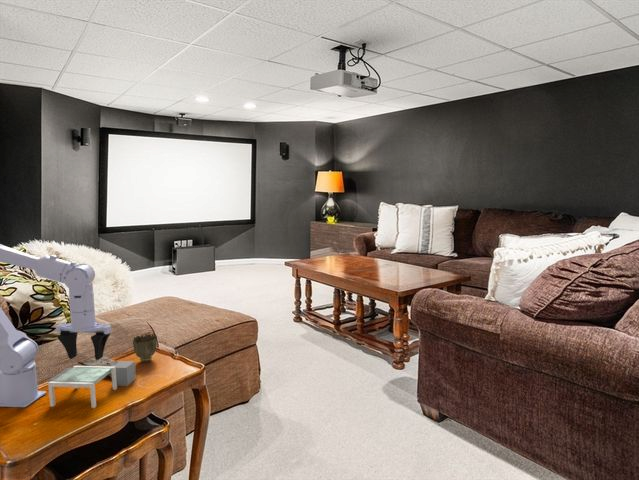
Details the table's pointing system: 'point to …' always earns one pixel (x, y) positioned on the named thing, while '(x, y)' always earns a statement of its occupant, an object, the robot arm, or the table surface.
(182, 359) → the table surface
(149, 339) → the cup
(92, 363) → the stone fragment
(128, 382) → the stone block
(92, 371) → the trapdoor plate
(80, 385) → the miniature coffee table
